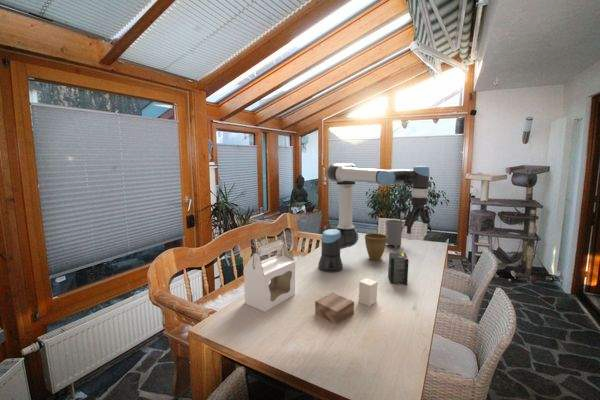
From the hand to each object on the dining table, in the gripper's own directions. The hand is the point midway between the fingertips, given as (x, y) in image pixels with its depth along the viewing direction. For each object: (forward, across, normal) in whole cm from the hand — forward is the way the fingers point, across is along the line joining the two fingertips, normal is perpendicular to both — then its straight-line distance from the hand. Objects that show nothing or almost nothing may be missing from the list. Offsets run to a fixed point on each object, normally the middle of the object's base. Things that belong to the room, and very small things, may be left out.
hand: (416, 237), depth 149 cm
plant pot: (+28, +20, +40) cm, 53 cm away
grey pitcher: (+28, +56, +49) cm, 79 cm away
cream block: (+28, -31, +5) cm, 42 cm away
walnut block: (+28, -52, +7) cm, 59 cm away
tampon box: (+28, +1, +10) cm, 30 cm away
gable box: (+28, -67, +35) cm, 80 cm away
